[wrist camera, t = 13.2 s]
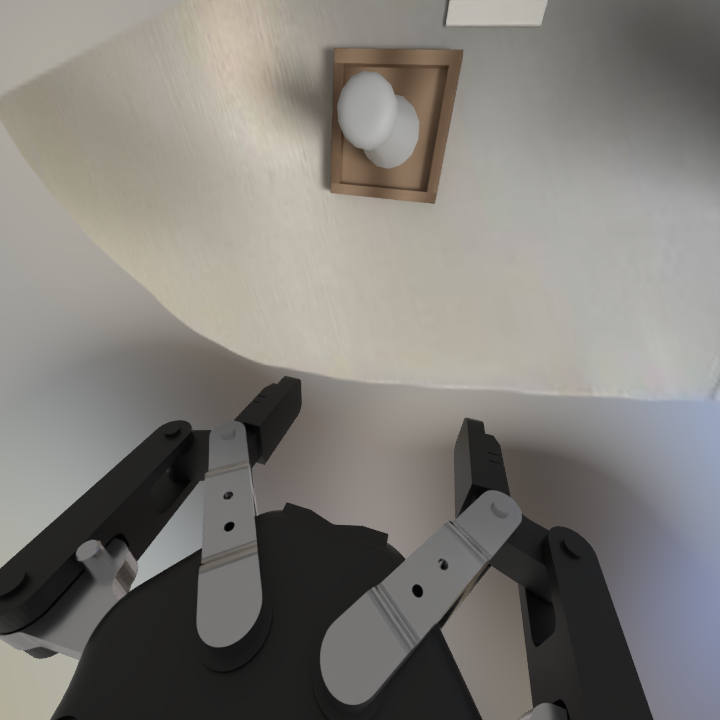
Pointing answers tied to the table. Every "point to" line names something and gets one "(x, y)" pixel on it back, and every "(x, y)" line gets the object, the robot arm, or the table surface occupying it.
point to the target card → (495, 13)
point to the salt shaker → (377, 119)
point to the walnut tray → (433, 108)
